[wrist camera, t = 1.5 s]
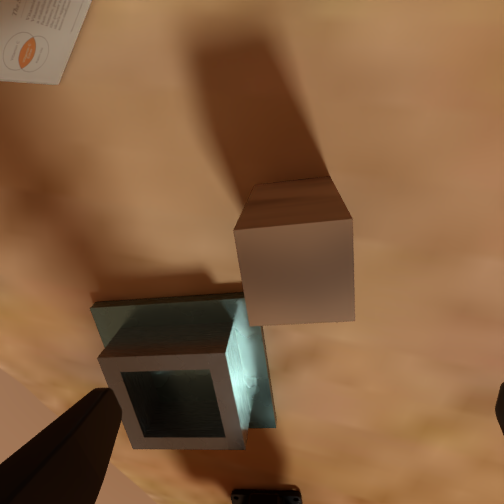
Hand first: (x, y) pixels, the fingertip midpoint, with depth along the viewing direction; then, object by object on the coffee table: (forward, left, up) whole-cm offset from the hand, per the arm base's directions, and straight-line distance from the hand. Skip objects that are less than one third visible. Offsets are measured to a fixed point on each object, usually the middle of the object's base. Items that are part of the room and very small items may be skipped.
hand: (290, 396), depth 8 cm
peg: (0, 0, -14) cm, 14 cm away
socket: (-11, +9, -14) cm, 20 cm away
